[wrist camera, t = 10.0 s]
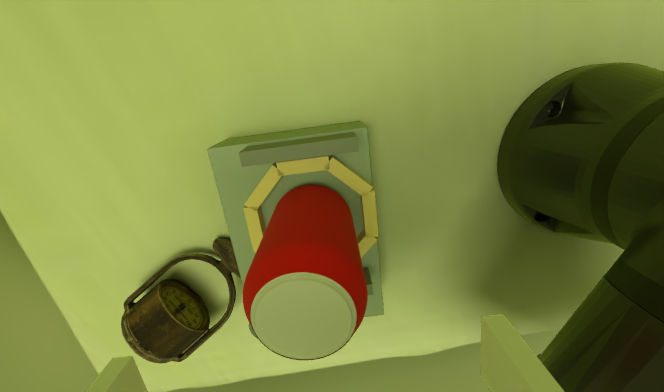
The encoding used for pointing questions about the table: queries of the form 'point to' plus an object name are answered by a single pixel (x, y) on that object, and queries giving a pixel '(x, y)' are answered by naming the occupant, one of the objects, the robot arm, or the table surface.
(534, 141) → the robot arm
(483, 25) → the table surface
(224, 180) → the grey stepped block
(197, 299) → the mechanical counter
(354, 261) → the beverage can
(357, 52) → the table surface
